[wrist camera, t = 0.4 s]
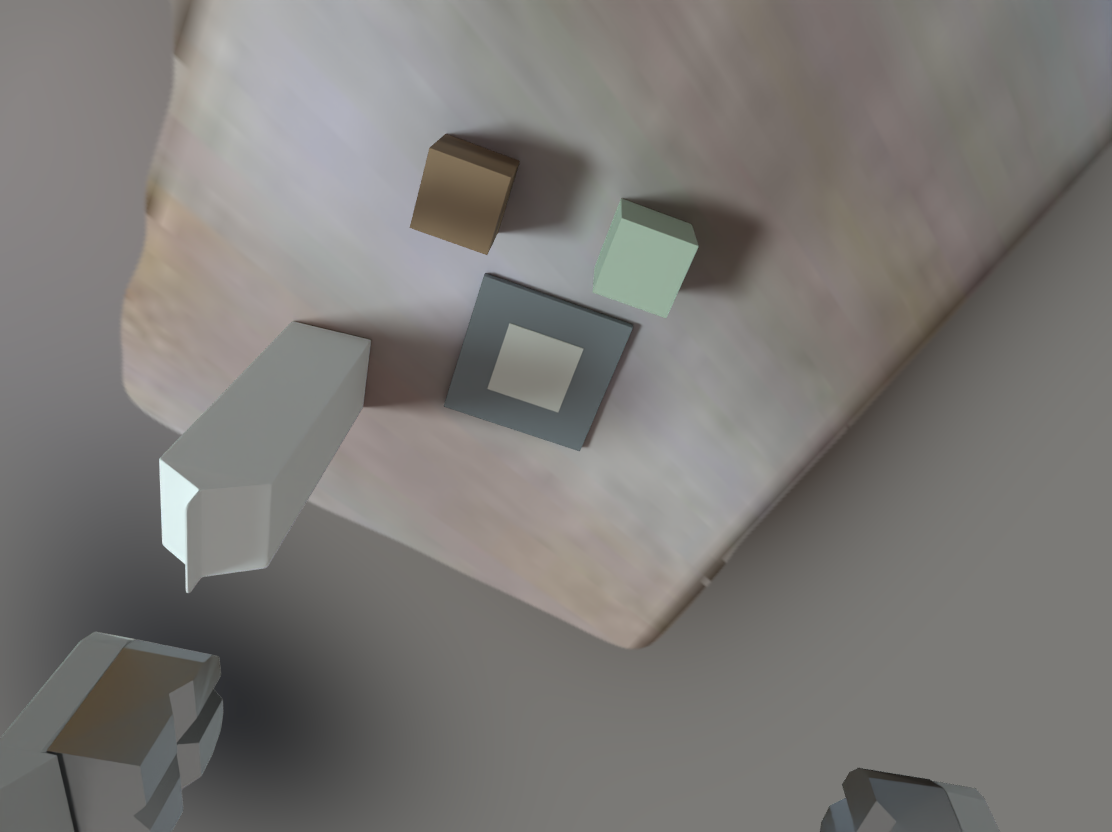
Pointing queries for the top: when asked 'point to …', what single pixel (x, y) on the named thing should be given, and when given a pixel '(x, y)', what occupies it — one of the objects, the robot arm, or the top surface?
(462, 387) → the coaster
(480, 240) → the walnut block
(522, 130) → the top surface
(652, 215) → the green block
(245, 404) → the milk
